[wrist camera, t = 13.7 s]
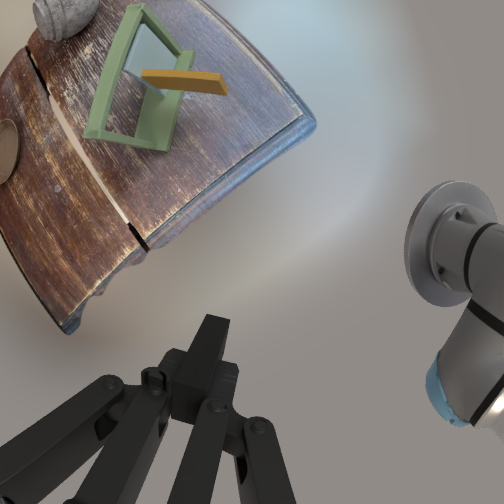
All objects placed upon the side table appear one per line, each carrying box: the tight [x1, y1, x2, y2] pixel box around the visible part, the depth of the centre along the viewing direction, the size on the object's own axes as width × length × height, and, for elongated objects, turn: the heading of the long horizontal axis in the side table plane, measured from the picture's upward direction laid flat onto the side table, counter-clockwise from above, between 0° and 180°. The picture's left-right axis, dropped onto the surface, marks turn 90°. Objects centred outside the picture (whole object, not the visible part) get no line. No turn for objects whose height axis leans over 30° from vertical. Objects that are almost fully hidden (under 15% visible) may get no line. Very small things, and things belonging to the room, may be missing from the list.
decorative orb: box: [33, 0, 99, 42], centre depth 25 cm, size 15×14×15 cm
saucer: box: [0, 119, 20, 184], centre depth 39 cm, size 15×15×3 cm
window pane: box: [123, 24, 229, 97], centre depth 28 cm, size 11×7×13 cm, turn 77°
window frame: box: [83, 3, 196, 152], centre depth 29 cm, size 6×17×16 cm, turn 167°
